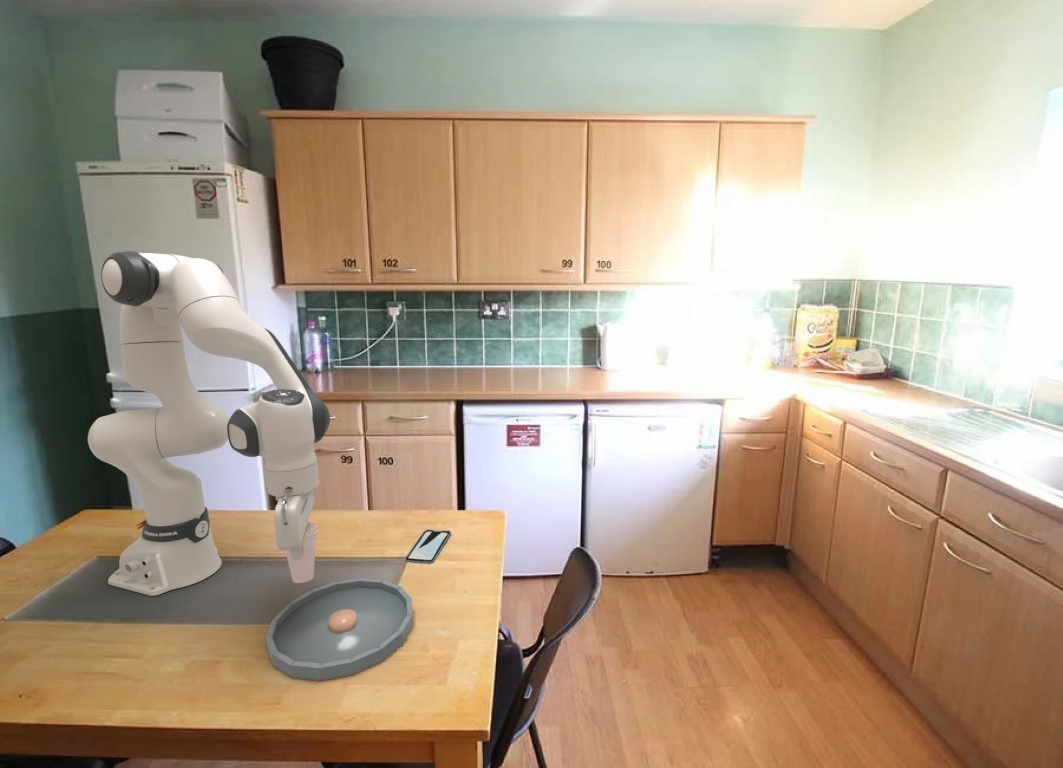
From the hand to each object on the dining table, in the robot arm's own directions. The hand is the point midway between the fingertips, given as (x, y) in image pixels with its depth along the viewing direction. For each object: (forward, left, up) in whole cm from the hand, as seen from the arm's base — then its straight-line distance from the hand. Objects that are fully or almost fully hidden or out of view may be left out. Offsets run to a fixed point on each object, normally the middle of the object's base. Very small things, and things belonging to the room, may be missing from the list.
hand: (300, 548), depth 100 cm
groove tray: (+7, 0, -17) cm, 18 cm away
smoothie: (0, -1, -6) cm, 6 cm away
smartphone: (+13, +32, -17) cm, 39 cm away
